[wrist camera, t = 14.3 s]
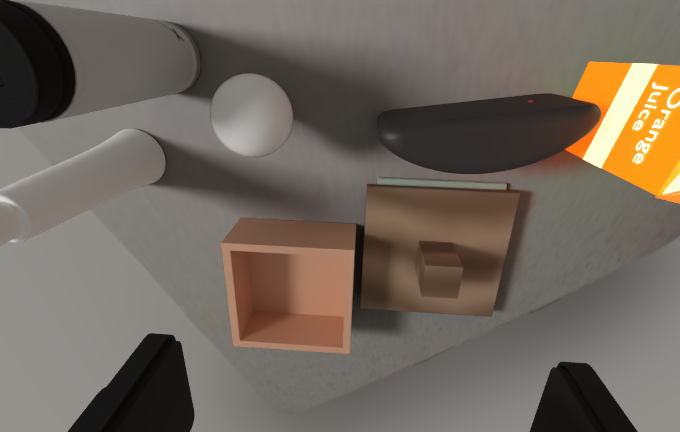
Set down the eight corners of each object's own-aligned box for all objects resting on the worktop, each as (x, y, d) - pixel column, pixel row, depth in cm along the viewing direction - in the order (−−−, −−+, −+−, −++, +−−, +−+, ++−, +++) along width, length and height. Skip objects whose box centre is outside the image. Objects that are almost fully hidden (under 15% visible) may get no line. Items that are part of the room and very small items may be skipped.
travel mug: (192, 13, 34) (-16, -30, 15) (208, 90, 36) (47, 129, 18) (127, 20, 34) (-146, -14, 16) (147, 95, 37) (-67, 138, 19)
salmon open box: (240, 217, 42) (221, 242, 36) (356, 223, 41) (354, 250, 36) (249, 311, 47) (233, 345, 42) (351, 318, 46) (349, 354, 41)
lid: (367, 182, 39) (366, 205, 33) (515, 188, 38) (542, 213, 32) (360, 301, 45) (359, 338, 39) (487, 308, 44) (506, 348, 38)
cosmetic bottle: (127, 189, 41) (-100, 320, 21) (100, 136, 39) (-184, 226, 19) (175, 177, 40) (-15, 302, 20) (150, 122, 38) (-92, 201, 18)
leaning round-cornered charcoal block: (379, 155, 38) (382, 185, 29) (375, 109, 36) (377, 127, 28) (546, 139, 36) (602, 166, 28) (551, 89, 34) (613, 102, 26)
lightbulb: (317, 121, 37) (299, 147, 27) (262, 145, 38) (224, 179, 28) (289, 57, 35) (257, 59, 25) (231, 85, 36) (178, 99, 26)
